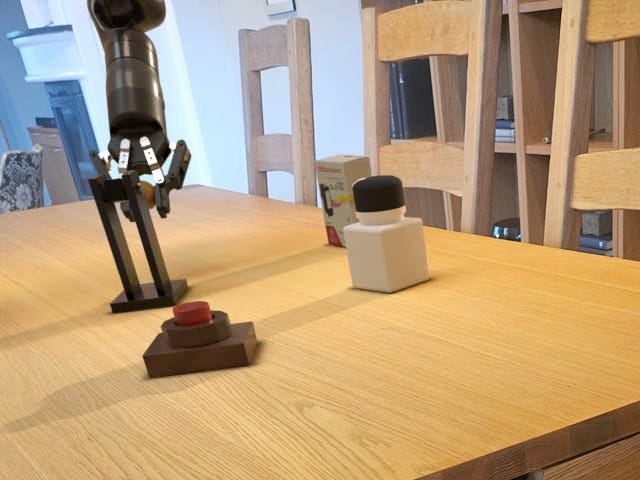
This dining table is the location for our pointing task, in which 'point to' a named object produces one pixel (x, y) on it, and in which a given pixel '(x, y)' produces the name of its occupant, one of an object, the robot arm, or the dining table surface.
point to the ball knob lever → (118, 193)
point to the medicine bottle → (384, 238)
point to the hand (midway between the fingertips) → (146, 215)
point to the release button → (192, 313)
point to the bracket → (134, 292)
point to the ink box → (340, 191)
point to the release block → (200, 346)
